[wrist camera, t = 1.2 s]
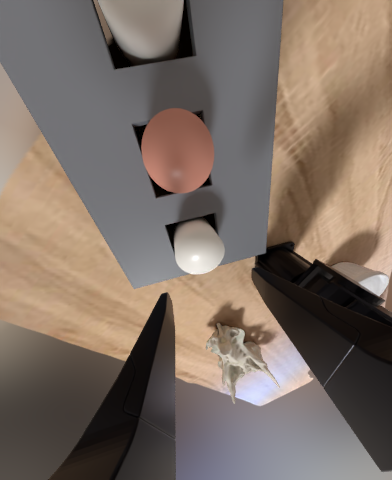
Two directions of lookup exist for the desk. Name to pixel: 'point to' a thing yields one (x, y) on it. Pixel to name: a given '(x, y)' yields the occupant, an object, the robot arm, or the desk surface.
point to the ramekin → (364, 276)
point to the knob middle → (177, 150)
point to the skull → (236, 356)
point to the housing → (143, 110)
